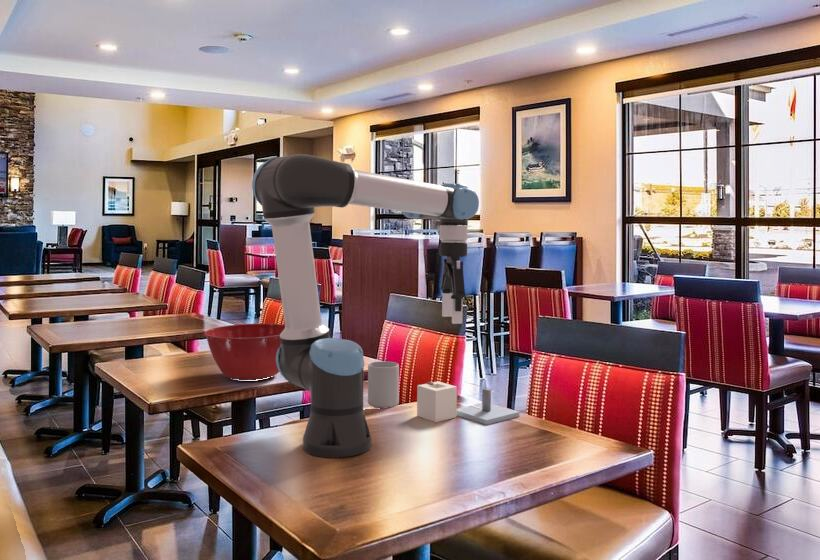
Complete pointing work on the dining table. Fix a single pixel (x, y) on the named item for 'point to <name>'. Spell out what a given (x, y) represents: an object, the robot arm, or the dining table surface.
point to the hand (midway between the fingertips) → (451, 320)
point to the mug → (383, 384)
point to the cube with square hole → (436, 401)
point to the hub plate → (486, 411)
